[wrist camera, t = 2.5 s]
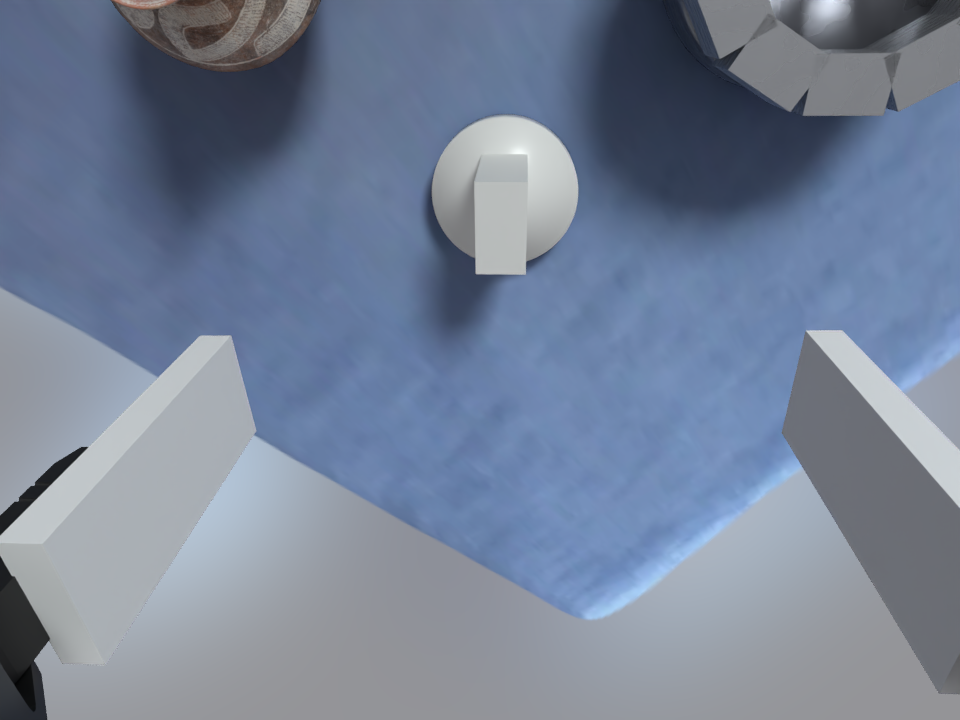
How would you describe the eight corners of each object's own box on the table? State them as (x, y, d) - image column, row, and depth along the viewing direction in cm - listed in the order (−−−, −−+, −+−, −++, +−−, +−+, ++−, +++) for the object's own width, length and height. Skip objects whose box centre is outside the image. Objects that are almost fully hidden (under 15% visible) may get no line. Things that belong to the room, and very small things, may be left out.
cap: (438, 255, 38) (420, 307, 31) (431, 113, 34) (409, 140, 27) (572, 256, 37) (581, 309, 31) (580, 113, 33) (594, 139, 27)
